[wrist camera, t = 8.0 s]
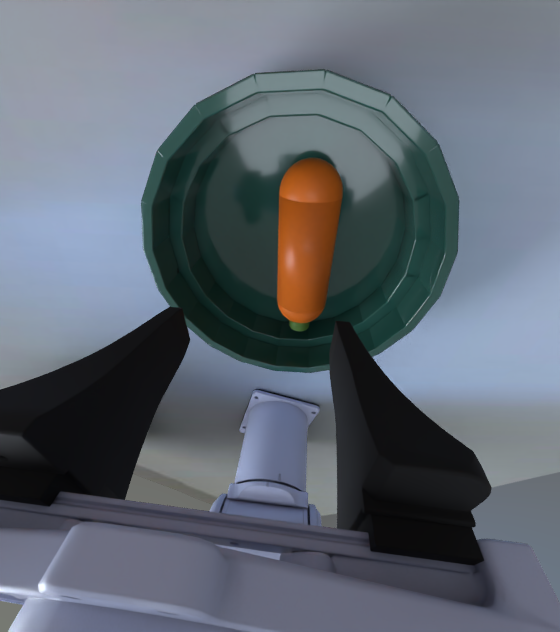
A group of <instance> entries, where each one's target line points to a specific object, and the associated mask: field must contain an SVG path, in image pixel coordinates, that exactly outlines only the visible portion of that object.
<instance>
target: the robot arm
mask: <svg viewBox="0 0 560 632" xmlns="http://www.w3.org/2000/svg"><path fill="white" fill-rule="evenodd" d="M189 342H190V337H189V333H188V329H187V325H186V321H185V317H184V313H183V309H182V308H178V307H169V308H167V309H165V310H164V311H162V312H161V313H159V314H158V315H156V316H155V317H153V318H152V319H150V320H149V321H147V322H146V323H144V324H142V325H141V326H139V327H138V328H136V329H135V330H133V331H132V332H130V333H128V334H127V335H125V336H123V337H122V338H120V339H118V340H117V341H115V342H113V343H112V344H110V345H108V346H106V347H105V348H103V349H101V350H99V351H97V352H95V353H93V354H91V355H89V356H87V357H85V358H83V359H81V360H78V361H76V362H74V363H71V364H69V365H67V366H65V367H62V368H60V369H58V370H55V371H53V372H50V373H48V374H45V375H42V376H40V377H37V378H34V379H31V380H29V381H26V382H23V383H20V384H17V385H14V386H11V387H7V388H4V389H1V390H0V601H5V602H11V603H17V604H22V605H23V607H22V608H21V610H20V612H19V613H18V615H17V617H16V618H15V620H14V622H13V623H12V625H11V627H10V629H9V630H8V632H560V602H559V601H558V599H557V597H556V595H555V593H554V591H553V589H552V587H551V585H550V583H549V581H548V579H547V577H546V575H545V573H544V571H543V569H542V567H541V565H540V563H539V561H538V559H537V557H536V555H535V553H534V551H533V549H532V547H531V546H530V545H528V544H525V543H518V542H511V541H503V540H495V539H479V540H476V538H475V535H474V532H473V530H472V527H475V520H474V518H473V515H472V513H471V510H472V509H474V508H475V507H476V506H478V505H479V504H480V503H482V502H483V501H484V500H485V499H486V498H487V497H488V496H489V495H490V493H491V488H492V487H491V485H490V483H489V481H488V479H487V477H486V475H485V472H484V470H483V468H482V466H481V464H480V463H479V461H478V459H477V457H476V455H475V454H474V452H473V451H472V450H471V449H469V448H468V447H466V446H465V445H464V444H462V443H461V442H460V441H458V440H457V439H455V438H454V437H453V436H451V435H450V434H449V433H447V432H446V431H445V430H443V429H442V428H441V427H440V426H438V425H437V424H436V423H435V422H433V421H432V420H431V419H430V418H429V417H427V416H426V415H425V414H424V413H423V412H422V411H420V410H419V409H418V408H417V407H416V406H415V405H414V404H413V403H412V402H411V401H410V400H409V399H408V398H406V397H405V396H404V395H403V394H402V393H401V392H400V391H399V389H398V388H397V387H396V386H395V385H394V384H393V383H392V382H391V381H390V380H389V378H388V377H387V376H386V375H385V374H384V372H383V371H382V370H381V369H380V367H379V366H378V365H377V363H376V362H375V361H374V359H373V358H372V357H371V355H370V354H369V352H368V351H367V349H366V348H365V346H364V345H363V343H362V342H361V340H360V338H359V337H358V335H357V333H356V332H355V330H354V328H353V326H352V325H351V323H350V322H346V321H336V322H335V327H334V332H333V337H332V342H331V347H330V352H329V365H330V379H331V387H332V395H333V403H334V410H335V419H336V439H337V528H330V527H322V526H321V516H320V513H319V511H318V510H317V509H316V507H315V505H313V504H309V505H308V493H307V492H306V464H307V428H308V427H309V425H310V424H311V422H312V421H313V419H314V418H315V417H316V415H317V414H318V412H319V407H318V406H317V405H313V404H309V403H305V402H302V401H298V400H294V399H290V398H286V397H283V396H279V395H275V394H271V393H268V392H264V391H260V390H255V391H254V392H253V394H252V397H251V400H250V402H249V405H248V407H247V410H246V413H245V415H244V418H243V421H242V423H241V426H240V429H239V431H240V432H242V433H245V436H244V441H243V445H242V450H241V455H240V459H239V464H238V469H237V473H236V478H235V483H234V484H232V483H230V485H229V490H228V494H221V495H220V496H219V498H218V499H217V500H215V502H214V503H213V505H212V507H211V509H210V511H203V510H196V509H188V508H181V507H174V506H165V505H159V504H151V503H144V502H136V501H129V500H125V497H126V494H127V490H128V488H129V484H130V481H131V478H132V475H133V471H134V468H135V465H136V463H137V460H138V457H139V454H140V451H141V448H142V445H143V443H144V440H145V437H146V435H147V432H148V430H149V427H150V424H151V422H152V420H153V417H154V415H155V412H156V410H157V407H158V405H159V403H160V401H161V399H162V397H163V395H164V393H165V392H166V390H167V388H168V386H169V384H170V382H171V381H172V379H173V377H174V375H175V373H176V371H177V370H178V368H179V366H180V364H181V362H182V360H183V358H184V356H185V353H186V351H187V348H188V345H189Z"/></svg>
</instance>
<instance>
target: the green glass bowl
mask: <svg viewBox="0 0 560 632" xmlns="http://www.w3.org/2000/svg"><path fill="white" fill-rule="evenodd" d="M306 158H320V159H323V160H325V161H327V162H328V163H330V164H331V165H332V166H333V167H334V168H335V169H336V170H337V172H338V174H339V175H340V178H341V181H342V186H343V197H342V203H341V210H340V216H339V222H338V229H337V235H336V241H335V248H334V254H333V260H332V267H331V273H330V279H329V286H328V292H327V299H326V304H325V307H324V310H323V311H322V313H321V314H320V315H319V316H318V317H317V318H316V319H314V320H313V321H311V322H310V323H309V328H308V329H307V330H305V331H295V330H293V329H291V328H290V326H289V320H288V319H287V318H286V317H285V316H284V315H283V314H282V313H281V311H280V309H279V307H278V303H277V275H278V225H279V190H280V184H281V181H282V179H283V177H284V175H285V173H286V172H287V170H288V169H289V168H290V167H291V166H292V165H293V164H294V163H296V162H298V161H300V160H302V159H306ZM141 201H142V202H141V212H142V236H143V250H144V253H145V256H146V258H147V261H148V264H149V267H150V269H151V272H152V275H153V277H154V280H155V283H156V286H157V288H158V290H159V292H160V293H161V294H162V296H163V297H164V298H165V300H166V301H167V303H168V304H169V305H170V307H178V308H182V309H183V313H184V317H185V321H186V325H187V327H188V328H189V329H191V330H192V331H193V332H194V333H195V334H197V335H198V336H199V337H200V338H201V339H202V340H204V341H205V342H206V343H207V344H208V345H210V346H211V347H213V348H215V349H217V350H219V351H221V352H223V353H225V354H227V355H229V356H231V357H233V358H235V359H236V360H238V361H241V362H244V363H248V364H252V365H255V366H259V367H263V368H266V369H270V370H275V371H287V372H304V373H312V372H319V371H325V370H330V365H329V352H330V347H331V342H332V337H333V332H334V327H335V322H336V321H346V322H350V323H351V325H352V326H353V328H354V330H355V332H356V333H357V335H358V337H359V338H360V340H361V342H362V343H363V345H364V346H365V348H366V349H367V351H368V352H369V354H370V355H371V357H373V356H375V355H378V354H380V353H381V352H383V351H384V350H386V349H387V348H388V347H390V346H391V345H393V344H394V343H395V342H397V341H398V340H400V339H401V338H403V337H404V336H405V335H407V334H408V333H410V332H411V331H412V330H413V329H414V328H415V327H416V326H417V324H418V323H419V322H420V321H421V319H422V318H423V317H424V316H425V315H426V313H427V312H428V311H429V310H430V308H431V307H432V306H433V305H434V304H435V302H436V301H437V300H438V299H439V297H440V296H441V293H442V291H443V288H444V286H445V283H446V281H447V278H448V276H449V273H450V271H451V268H452V266H453V263H454V261H455V258H456V256H457V252H458V224H459V197H458V194H457V191H456V189H455V186H454V183H453V181H452V178H451V175H450V172H449V170H448V167H447V164H446V162H445V159H444V156H443V154H442V151H441V148H440V146H439V144H438V142H437V141H436V140H435V139H434V138H433V137H432V136H431V135H430V134H429V132H428V131H427V130H426V129H425V128H424V127H423V126H422V125H421V124H420V123H419V122H418V121H417V120H416V119H415V118H414V117H413V116H412V115H411V114H410V113H409V112H408V111H407V110H406V109H405V108H404V107H403V106H402V105H401V104H400V103H399V102H398V101H397V100H396V99H395V98H394V96H391V95H390V94H388V93H386V92H383V91H381V90H378V89H375V88H373V87H370V86H368V85H365V84H363V83H360V82H357V81H355V80H352V79H350V78H347V77H345V76H342V75H339V74H337V73H334V72H332V71H329V70H326V71H325V69H318V70H300V71H283V72H265V73H255V74H252V75H250V76H248V77H246V78H244V79H242V80H240V81H238V82H236V83H235V84H233V85H231V86H229V87H227V88H225V89H223V90H221V91H219V92H217V93H215V94H213V95H211V96H209V97H207V98H206V99H204V100H202V101H200V102H198V103H196V105H194V106H193V107H192V108H191V109H190V111H189V112H188V113H187V114H186V116H185V117H184V118H183V119H182V120H181V122H180V123H179V124H178V125H177V127H176V128H175V129H174V130H173V131H172V133H171V134H170V135H169V136H168V138H167V139H166V140H165V141H164V142H163V144H162V145H161V146H160V147H159V149H158V150H157V152H156V155H155V159H154V162H153V165H152V168H151V171H150V175H149V178H148V181H147V184H146V187H145V190H144V194H143V197H142V200H141Z"/></svg>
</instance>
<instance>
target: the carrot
mask: <svg viewBox="0 0 560 632" xmlns="http://www.w3.org/2000/svg"><path fill="white" fill-rule="evenodd" d="M342 197H343V186H342V181H341V178H340V175H339V174H338V172H337V170H336V169H335V168H334V167H333V166H332V165H331V164H330V163H328V162H327V161H325V160H323V159H320V158H306V159H302V160H300V161H298V162H296V163H294V164H293V165H292V166H291V167H290V168H289V169H288V170H287V172H286V173H285V175H284V177H283V179H282V181H281V184H280V190H279V225H278V275H277V303H278V307H279V309H280V311H281V313H282V314H283V315H284V316H285V317H286V318H287V319H288V320H289V326H290V328H291V329H293V330H295V331H305V330H307V329H308V328H309V323H310V322H311V321H313V320H314V319H316V318H317V317H318V316H319V315H320V314H321V313H322V311H323V310H324V307H325V304H326V299H327V292H328V286H329V279H330V273H331V267H332V260H333V254H334V248H335V241H336V235H337V229H338V222H339V216H340V210H341V203H342Z"/></svg>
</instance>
